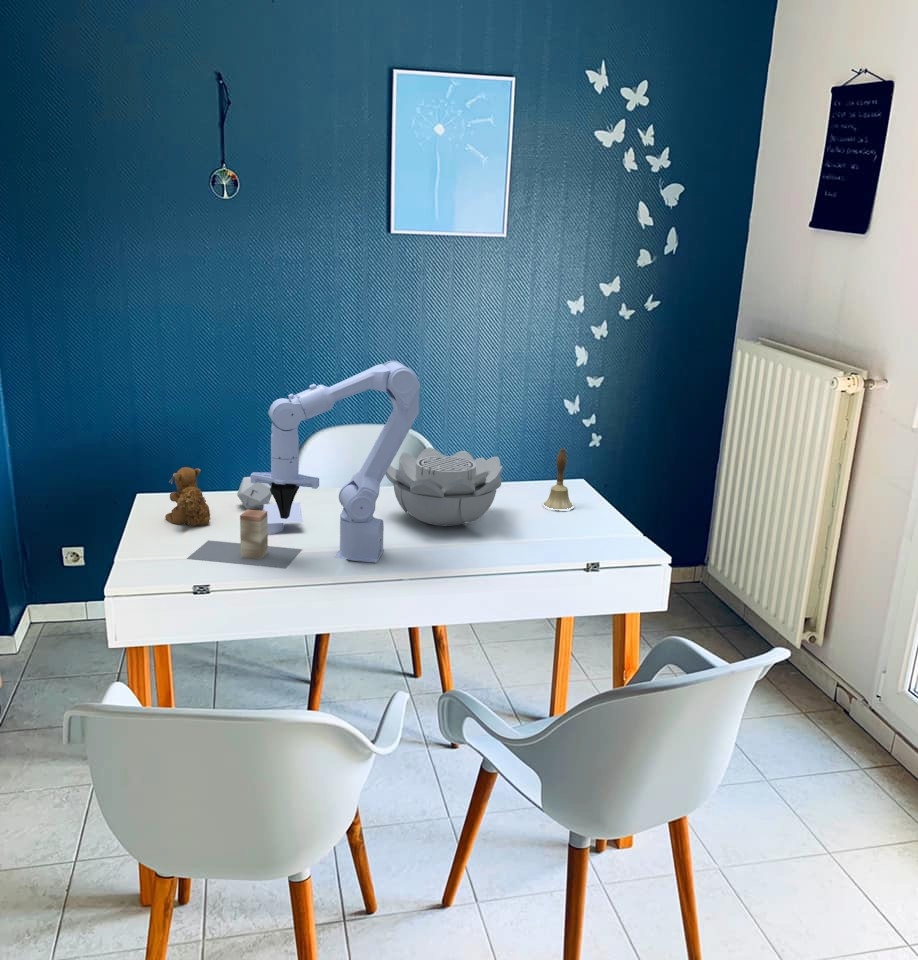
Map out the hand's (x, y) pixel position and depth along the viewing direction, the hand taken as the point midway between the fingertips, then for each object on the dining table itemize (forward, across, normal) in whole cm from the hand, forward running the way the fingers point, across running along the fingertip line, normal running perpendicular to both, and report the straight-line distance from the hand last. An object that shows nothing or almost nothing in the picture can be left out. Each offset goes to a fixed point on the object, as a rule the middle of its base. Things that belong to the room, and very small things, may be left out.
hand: (285, 517), depth 204 cm
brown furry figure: (+10, -29, +18) cm, 36 cm away
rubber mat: (+10, -9, 0) cm, 13 cm away
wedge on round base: (+10, -9, +18) cm, 23 cm away
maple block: (+9, -7, 0) cm, 12 cm away
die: (+10, -19, +34) cm, 40 cm away
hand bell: (+10, +57, +56) cm, 81 cm away
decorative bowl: (+10, +30, +36) cm, 48 cm away
